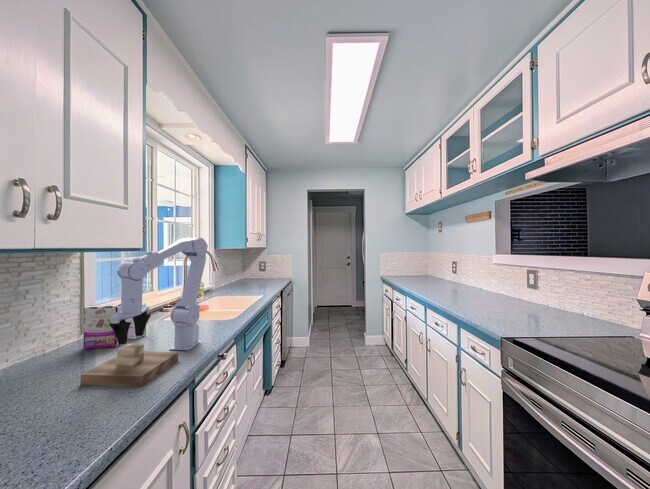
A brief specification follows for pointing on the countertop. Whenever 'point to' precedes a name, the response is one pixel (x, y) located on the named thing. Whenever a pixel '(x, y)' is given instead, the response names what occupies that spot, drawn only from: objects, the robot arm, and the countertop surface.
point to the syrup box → (132, 328)
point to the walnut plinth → (130, 370)
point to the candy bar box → (99, 326)
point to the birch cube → (130, 354)
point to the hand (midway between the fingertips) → (131, 339)
